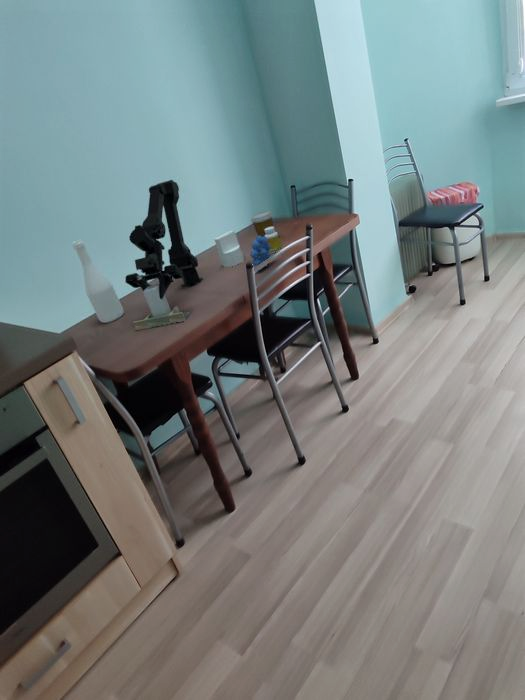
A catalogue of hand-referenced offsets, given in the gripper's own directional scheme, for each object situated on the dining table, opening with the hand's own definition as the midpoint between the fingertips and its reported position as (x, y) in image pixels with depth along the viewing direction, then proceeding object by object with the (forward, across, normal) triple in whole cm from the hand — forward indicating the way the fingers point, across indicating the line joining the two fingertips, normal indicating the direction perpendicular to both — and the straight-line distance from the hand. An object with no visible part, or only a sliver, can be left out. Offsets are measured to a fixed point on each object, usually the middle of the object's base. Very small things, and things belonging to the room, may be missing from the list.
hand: (154, 300), depth 159 cm
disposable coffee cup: (-41, +26, +54) cm, 72 cm away
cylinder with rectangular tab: (-27, +14, +39) cm, 50 cm away
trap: (+5, 0, +7) cm, 8 cm away
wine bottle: (-4, -26, +15) cm, 31 cm away
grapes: (-18, +30, +30) cm, 45 cm away
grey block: (+4, 0, +6) cm, 7 cm away
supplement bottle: (-30, +32, +42) cm, 60 cm away
